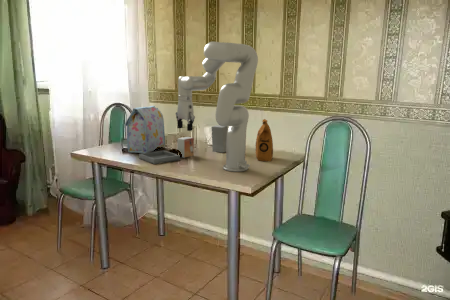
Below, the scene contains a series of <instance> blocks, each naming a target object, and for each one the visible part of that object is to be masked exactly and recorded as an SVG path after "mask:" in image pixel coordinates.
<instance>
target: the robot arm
mask: <svg viewBox="0 0 450 300" xmlns="http://www.w3.org/2000/svg"><path fill="white" fill-rule="evenodd" d="M256 51H257V50H256V49H255V48H253V47H252V46H251V45H248V44H244V43H235V42H224V41H223V42H220V41H209V42H208V43H207V44H205V46H204V48H203V56H205V58H204V59H203V61H202V67H203V69H204V70H205V73H204V74H203V75H202V76H200V75H197V76H196V75H195V76H192V75H191V76H188V75H187V76H185V75H181V76H179V77H178V81H177V82H178V87H177V88H178V89H177V90H178V91H177V92H178V93H177V94H178V95H177V96H178V97H177V101H178V102H177V109H176V110H177V111H176V112H175V116H176V117H175V118H176V122H177V123H176V124H177V125H176V126H177V129H183V127H184V126H183V125H184V124H183V122H184V121H183V120H185V121H187V123H186V125H187V126H186V131H188V132H190V131H193V128H194V127H193V124H194V123H195V118H196V116H195V114H194V113H195V112H194V103H193V91H205V90H207V89H209V88H210V87H211V86H212V85H213V84H214V83H215V81H216V78H217V72H218V71H219V69H221V68H222V66H223V65H224V64H225V63H238V64H240V65H239V66H238V68H237V70H236V73H235V78H234V82H233V83H232V82H230V83H225V84H224V85H223V86H222V87H221V88H220V90H219V94H218V97H217V101H216V102H217V103H216V110H215V121H216V123H217V124H218V125H220V126H228V130H227V145H226V152H225V153H226V155H225V157H226V158H225V159H226V160H225V164H223V166H222V169H223V170H225V171H227V172H238V173H239V172H240V173H241V172H245V171H248V170H249V168H250V166H251V164H248V163H247V160H246V150H247V149H246V147H247V146H246V143H247V127H248V123H249V116H250V115H249V111H248V109H247V107H245V106H243V105H241V104H245V103H247V102H248V101H249V99H250V97H251V94H252V93H251V92H252V88H253V83H254V77H255V75H256V71H257V67H258V63H259V56H258V53H257V52H256Z"/></svg>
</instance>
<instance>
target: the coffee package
mask: <svg viewBox="0 0 450 300" xmlns="http://www.w3.org/2000/svg"><path fill="white" fill-rule="evenodd" d="M261 122H262V125H261V126H260V128H259V129H258V131H257V135H256V139H255V156H256V157H255V158H256V159H257V161H258V162H260V161H261V162H272V159H273V158H274V157H273V156H274V142H273V135H272V131H271V128H270V125H269V124H268V120H267V119H265V118H264V119H262V120H261Z"/></svg>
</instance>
